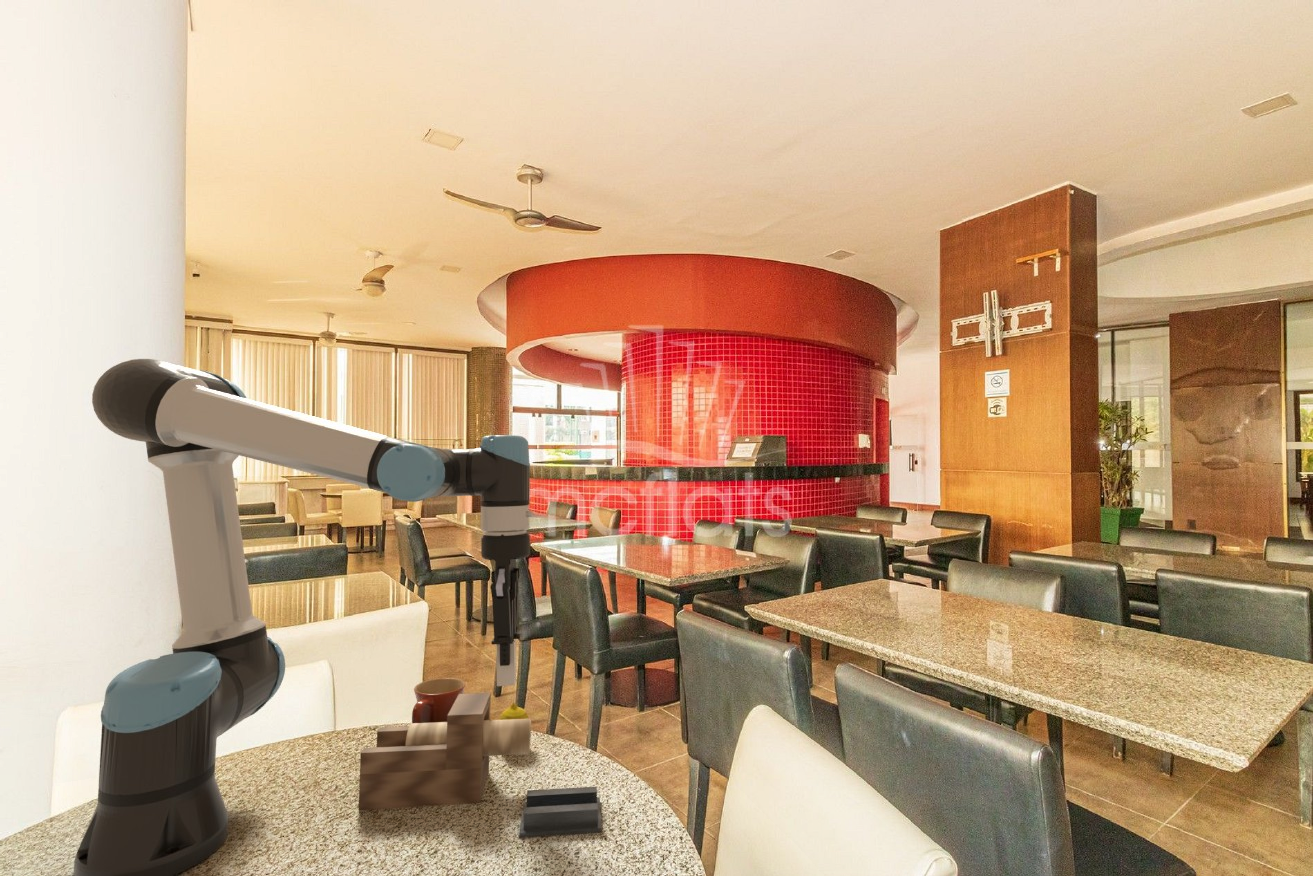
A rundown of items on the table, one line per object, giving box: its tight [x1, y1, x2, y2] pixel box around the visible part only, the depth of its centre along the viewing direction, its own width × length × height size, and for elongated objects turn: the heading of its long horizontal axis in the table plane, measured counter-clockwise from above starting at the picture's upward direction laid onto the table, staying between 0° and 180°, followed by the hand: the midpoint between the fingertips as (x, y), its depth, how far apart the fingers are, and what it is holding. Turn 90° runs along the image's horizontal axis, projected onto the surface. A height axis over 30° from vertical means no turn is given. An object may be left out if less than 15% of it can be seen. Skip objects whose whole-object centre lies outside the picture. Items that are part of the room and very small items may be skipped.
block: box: [358, 692, 492, 811], centre depth 94 cm, size 17×9×13 cm, turn 97°
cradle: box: [518, 786, 603, 839], centre depth 86 cm, size 11×8×3 cm
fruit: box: [498, 702, 530, 720], centre depth 108 cm, size 6×6×8 cm
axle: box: [405, 718, 532, 757], centre depth 95 cm, size 18×5×5 cm, turn 97°
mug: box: [411, 677, 466, 724], centre depth 108 cm, size 12×9×10 cm
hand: (506, 684), depth 96 cm, fingers closed
